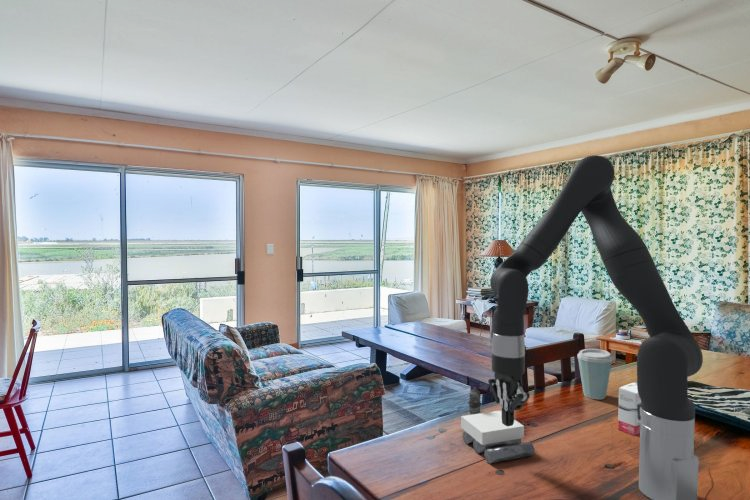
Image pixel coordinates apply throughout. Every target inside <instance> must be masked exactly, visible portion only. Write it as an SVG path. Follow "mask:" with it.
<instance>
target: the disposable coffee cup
mask: <svg viewBox="0 0 750 500" xmlns="http://www.w3.org/2000/svg"><path fill="white" fill-rule="evenodd" d="M577 360H578V368H579V373H580V379H581V380H580V381H581V384H582V385H581V386H582V392H583V394H584V396H585V397H586V398H588V399H592V400H604V399H605V398H606V397H607V393H608V392H607V391H608V386H609V380H610V375H611V368H612V362H613V356H612V355H611V352H609V351H608V350H604V349H600V348H584V349H581V350H579V351H578V353H577Z"/></svg>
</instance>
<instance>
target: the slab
mask: <svg viewBox="0 0 750 500" xmlns="http://www.w3.org/2000/svg"><path fill="white" fill-rule="evenodd" d="M460 428H461V429H462V430H463V431H466V432H467V433H468V434H469V435H471V436H472V437H473V438H474V439H475V440H477V441H478V442H479V443H480V444H481V445H485V444H491V443H497V442H503V441H509V440H515V439H521V440H522V439H524V438H525V425H523V424H522V423H520V422H519V421H517V420H516V419H514V424H513V425H512V426H505V425H504V424H502V410H494V411H487V412H481V413H480V414H473V415H466V416H464V415H462V416H460Z"/></svg>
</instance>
